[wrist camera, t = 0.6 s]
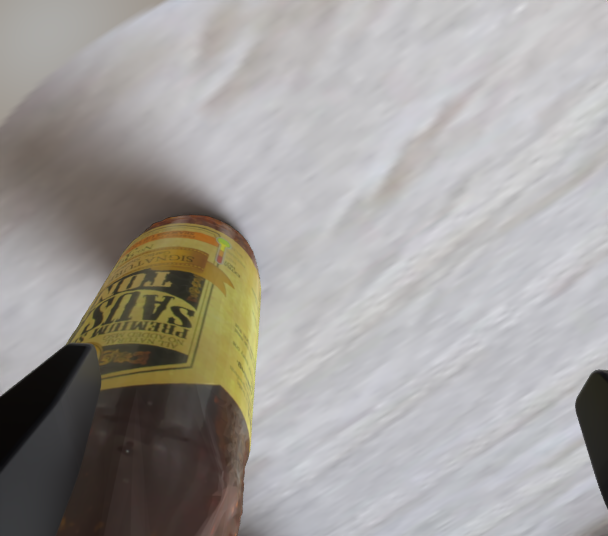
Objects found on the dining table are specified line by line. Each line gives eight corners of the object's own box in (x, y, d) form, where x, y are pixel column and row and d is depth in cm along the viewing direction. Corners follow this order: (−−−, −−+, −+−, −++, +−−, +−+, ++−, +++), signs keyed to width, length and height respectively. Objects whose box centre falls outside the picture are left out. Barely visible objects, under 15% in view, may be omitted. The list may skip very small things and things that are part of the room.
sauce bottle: (214, 181, 22) (15, 878, 4) (285, 291, 25) (344, 1005, 7) (90, 251, 23) (-492, 1050, 5) (171, 349, 26) (-36, 1103, 8)
